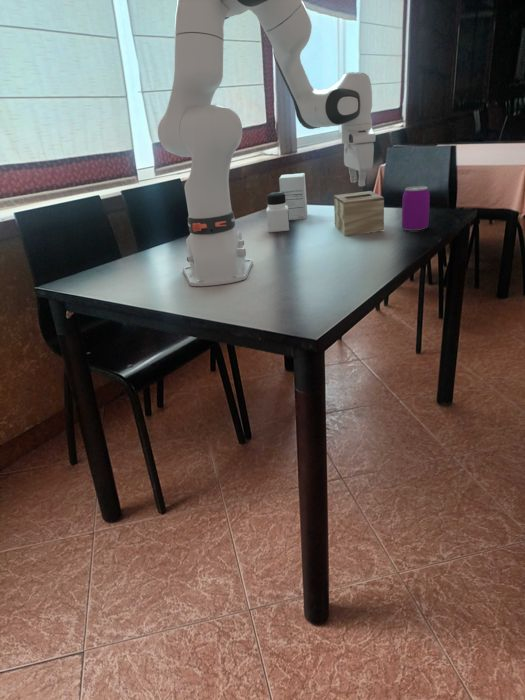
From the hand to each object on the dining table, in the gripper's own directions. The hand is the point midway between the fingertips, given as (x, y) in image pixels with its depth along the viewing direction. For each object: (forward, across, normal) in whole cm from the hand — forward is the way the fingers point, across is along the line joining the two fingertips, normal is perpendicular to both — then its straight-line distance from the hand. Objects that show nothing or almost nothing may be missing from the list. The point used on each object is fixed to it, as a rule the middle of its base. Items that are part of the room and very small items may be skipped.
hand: (357, 184), depth 151 cm
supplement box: (+14, -30, -16) cm, 37 cm away
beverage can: (+14, +9, +15) cm, 22 cm away
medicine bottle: (+14, -13, -24) cm, 31 cm away
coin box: (+14, 0, 0) cm, 14 cm away
